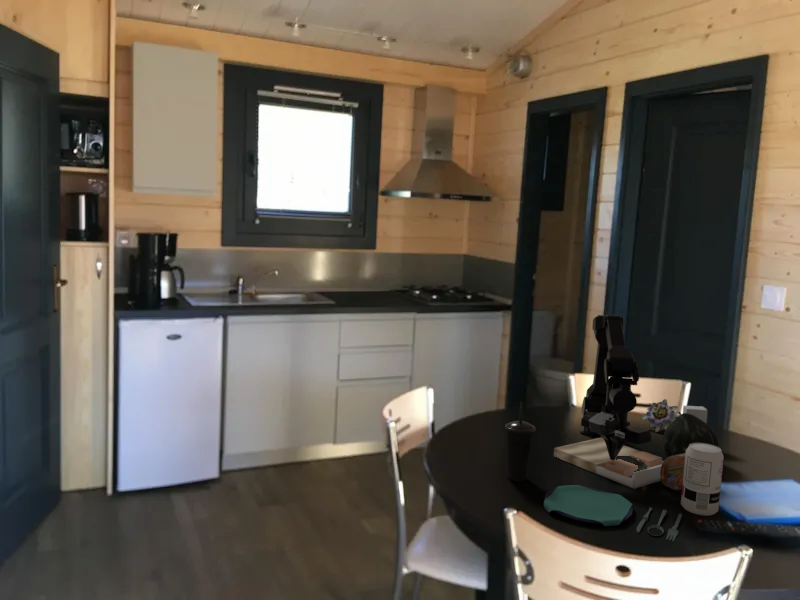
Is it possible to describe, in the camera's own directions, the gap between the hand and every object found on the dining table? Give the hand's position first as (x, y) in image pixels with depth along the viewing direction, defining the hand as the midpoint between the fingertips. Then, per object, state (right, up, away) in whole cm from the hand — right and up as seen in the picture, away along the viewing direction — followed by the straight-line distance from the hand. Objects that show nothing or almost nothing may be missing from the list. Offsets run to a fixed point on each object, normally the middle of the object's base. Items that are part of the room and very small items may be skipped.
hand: (612, 459), depth 190 cm
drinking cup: (-26, -4, -6) cm, 27 cm away
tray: (+7, -4, 0) cm, 8 cm away
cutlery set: (-9, -7, -27) cm, 29 cm away
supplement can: (+14, -7, -22) cm, 27 cm away
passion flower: (+29, 0, +42) cm, 51 cm away
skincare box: (+32, -2, +26) cm, 41 cm away
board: (-1, -2, +11) cm, 11 cm away
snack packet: (+16, -5, -7) cm, 18 cm away
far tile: (+10, -3, +5) cm, 12 cm away
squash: (+25, -3, +11) cm, 27 cm away
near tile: (+2, -3, -2) cm, 4 cm away
